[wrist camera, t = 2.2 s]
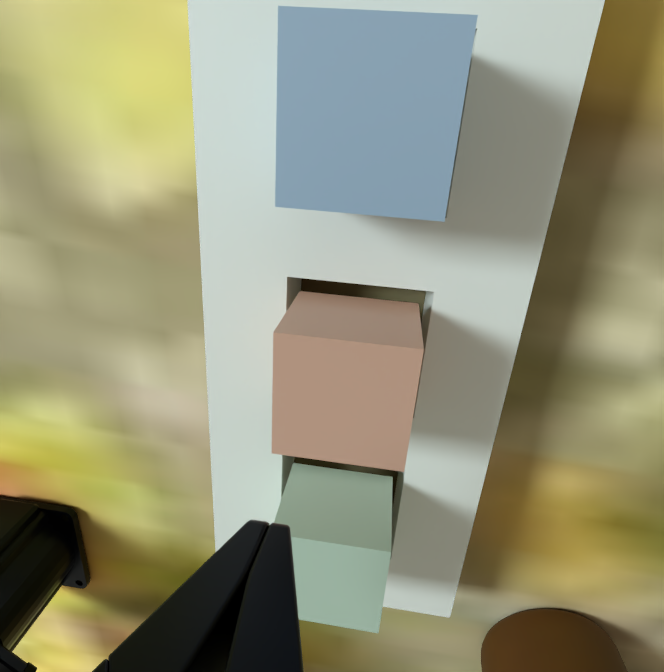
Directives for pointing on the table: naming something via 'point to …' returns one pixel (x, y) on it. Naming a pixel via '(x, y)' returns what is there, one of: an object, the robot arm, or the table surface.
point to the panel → (382, 260)
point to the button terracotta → (346, 379)
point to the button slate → (369, 109)
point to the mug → (549, 644)
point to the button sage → (339, 543)
